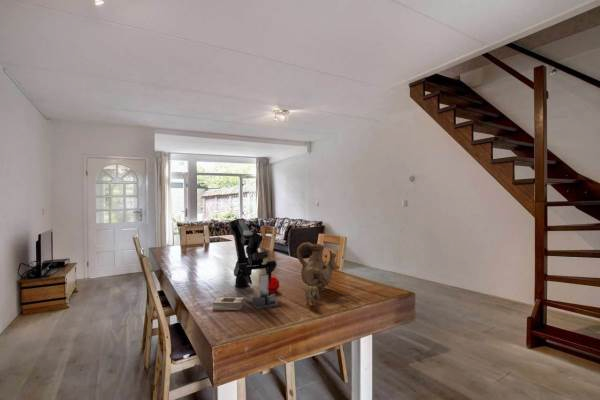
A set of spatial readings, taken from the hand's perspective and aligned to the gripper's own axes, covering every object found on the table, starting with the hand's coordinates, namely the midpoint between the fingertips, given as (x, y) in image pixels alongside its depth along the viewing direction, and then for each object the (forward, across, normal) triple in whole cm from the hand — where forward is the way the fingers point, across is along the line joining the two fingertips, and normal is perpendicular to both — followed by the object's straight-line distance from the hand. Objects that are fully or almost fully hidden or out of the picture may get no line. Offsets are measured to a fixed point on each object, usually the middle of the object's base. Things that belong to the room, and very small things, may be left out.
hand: (260, 282), depth 141 cm
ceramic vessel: (+4, +33, +9) cm, 35 cm away
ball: (-3, +10, +16) cm, 19 cm away
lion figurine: (+16, +20, -3) cm, 26 cm away
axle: (+8, 0, +2) cm, 9 cm away
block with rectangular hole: (+6, -15, +6) cm, 17 cm away
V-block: (+9, 0, +3) cm, 9 cm away
